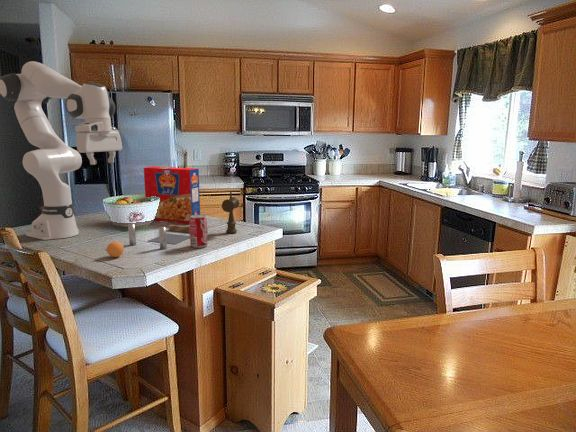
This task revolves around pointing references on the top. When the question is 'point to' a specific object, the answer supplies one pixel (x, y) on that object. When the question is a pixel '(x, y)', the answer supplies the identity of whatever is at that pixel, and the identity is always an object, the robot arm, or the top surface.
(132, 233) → the left post
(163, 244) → the right post
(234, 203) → the kendama
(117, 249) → the ball
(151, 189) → the pasta box
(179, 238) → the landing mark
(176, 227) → the stopper wall
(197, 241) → the soda can
